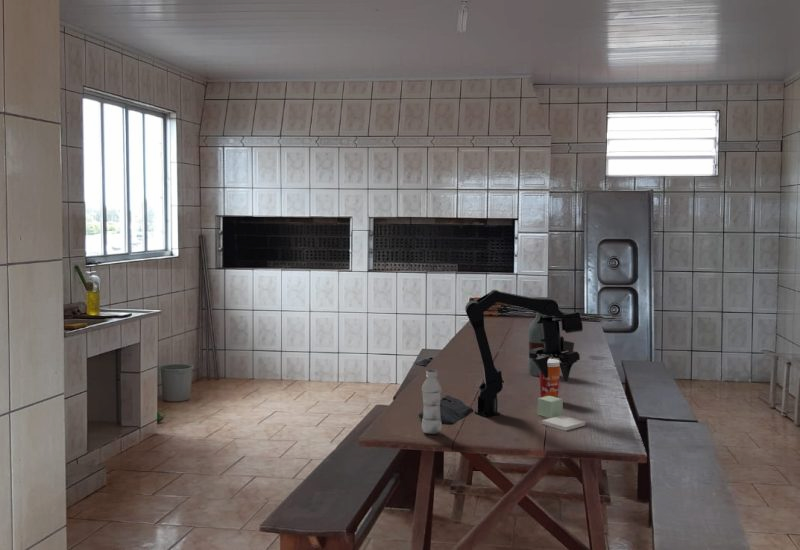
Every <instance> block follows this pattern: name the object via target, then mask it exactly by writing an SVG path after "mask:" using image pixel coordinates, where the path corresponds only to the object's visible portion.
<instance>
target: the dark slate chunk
mask: <svg viewBox="0 0 800 550" xmlns="http://www.w3.org/2000/svg"><path fill="white" fill-rule="evenodd" d="M471 411H472V412H473V411H474V410H473V408H472V407H470V406H468V405H466V404H465V403H464V402H463V401H462V400H460V399H458V398H455V397H452V396H450V395H447V394H446V395H445V396H444V397H441V399H440V416H441V422H442V424H445V425H454V424H457V422H459V421H461V420H463V419H464V418H465V417H466V415H467V416H468V415H469V414H471V413H472V412H471ZM470 412H471V413H470ZM418 417H419V418H420V419H421V420H422V419H423V411H422V412H419V414H418Z"/></svg>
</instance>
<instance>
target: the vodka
mask: <svg viewBox="0 0 800 550" xmlns="http://www.w3.org/2000/svg"><path fill="white" fill-rule="evenodd" d="M540 315H541V316H542V317H544V314H541V313H538V312H536V316H535V318H534V319H533V321H532V322H531V323H530V325H529V326H528V327H529V328H528V332H527V333H528V335H527V337H528V339H527V340H528V348H529V349H528V353H529V352H530V350H532V349H535V348H539V347H541V348H544V342H541V339H542V338H543V329H542V323H540V324H538V323H537V322H536V320H537V319H538V318H539V316H540ZM532 359H533V358H529V357H528V359H527V371H528V374H529V375H530V376H534V377H540V373H539V368H538V366H537V365H536V363H535V362H534V361H532Z"/></svg>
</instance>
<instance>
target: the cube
mask: <svg viewBox="0 0 800 550" xmlns="http://www.w3.org/2000/svg"><path fill="white" fill-rule="evenodd" d="M563 400H564V399H563V398H559V397H558V398H557V397H553V396H546V397H538V398H537V401H536V402H537V404H536V405H537V410H536V411H537V412H536V415H537V414H538V415H542V416H545V417H546V419H549V418H553V417H557V416H560V415H563V410H564V409H563V407H564V404H563V403H564V401H563ZM538 415H537V416H538ZM545 417H544V418H545Z"/></svg>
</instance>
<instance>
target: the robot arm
mask: <svg viewBox="0 0 800 550" xmlns="http://www.w3.org/2000/svg"><path fill="white" fill-rule="evenodd" d="M497 303H499V304H502V305H510V306H514V307H518V308H523V309H529V310H532V311H534V312H536V313H537V312H538V313H541V314H543V317H542V316H541V315H540V316H539V318H538V319H537V320H536V322H537V323H538V324H540V323H542V329H543V338H542V339H541V342H544V348H541V347H539V348H535V349H532V350H530V352H529V351H528V358H533V359H532V361H534V362H535V363H536V365H537V366H538V368H539V369H540V371H541V372H542V374H543V376H544V377H545V378H548V365H547V362H548V359H550V358H552V359H558V360H559V361H560V363H559V364H560V372H561V375H562V378H563V381H564V382H568V381H569V377H570V374H571V373H570V372H571V369H572V367H573V365H574V363H577V362H578V361H580V359H581V358H580V353H579V352H578V351H577V350H575V351H574V347H575V342H573V341H572V342H571V341H567V340H565V338H564V336H561V331H564V333H565V334H570V333H580V332H581V333H582V332H583V330H584V329H583V322H582V318H581V315H580V314H581V313H580V311H574V312H568V313H567V312H566V313H564V312H563V311H562V310H560V309H559V304H558V302H557V301H556V300H555V299H553V298H552V297H547V296H545V297H543V296H542V297H541V296H538V297H537V296H535V297H532V296H526V295H525V296H524V295H521V294H514V293H510V292H506V291H500V290H497V289H492V290H491V291H489V292H487V293H486V294H484V295H482V296H481V297H479V298H478V299H475V300H470V301H468V302H467V303H466V305H465V308H464V309H465V313H466V316H467V318H468V320H469V322H470V324H471V326H472V329H473V331H474V335H475V336H474V337H475V339H476V343H477V347H478V351H479V354H480V358H481V362H482V365H483V378H484V379H483V381H484V382H483V383H482V384H480V385H479V386H478V388H477V389H478V392H479V395H478V396H477V410H476V411H474V414H477V415H478V416H479V415H480V416H483V417H486V418H487V417H488V418H489V417H493V416H497V415H500V414H501V412H500V411H498V407H499V406H498V404H499V403H498V394H499V393H501V391H502V390H503V387H504V386H503V384H504V383H505V381H504V378H503V377H502V376H503V375H502V370H501V367H497V368H496V366H495V364H494V360H493V355H492V352H491V348H490V344H489V340H488V337H487V332H486V329H485V314H484V313H485V312H486V311H487V310H490V308H492V307H493V306H494V305H495V304H497ZM545 316H546V317H545ZM553 317H555V318H553ZM560 330H561V331H560Z"/></svg>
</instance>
